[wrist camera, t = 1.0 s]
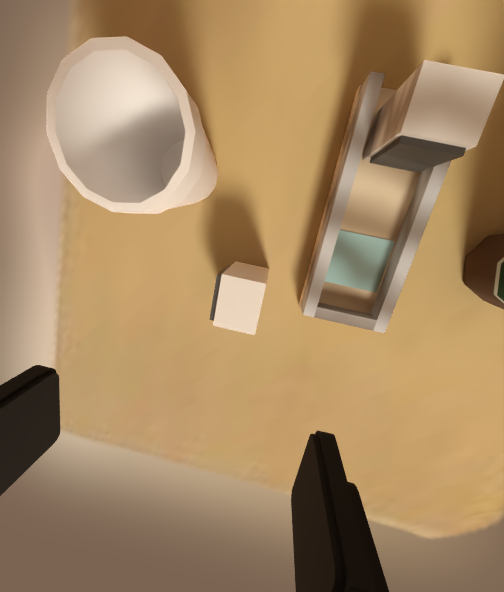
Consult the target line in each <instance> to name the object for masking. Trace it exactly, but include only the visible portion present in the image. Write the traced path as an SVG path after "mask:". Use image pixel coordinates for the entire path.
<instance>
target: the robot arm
mask: <svg viewBox="0 0 504 592" xmlns="http://www.w3.org/2000/svg"><path fill="white" fill-rule="evenodd" d="M59 434H60V400H59V375H58V374H56V370H55V369H53V368H48V367H45V366H40V365H35V366H33V367H31V368H30V369H28V370H26V371H24V372H23V373H21V374H19V375H18V376H16V377H14V378H12V379H11V380H9V381H7V382H5V383H4V384H2V385H0V496H1V495H2V493H4V492H5V491H6V490H7V489H8V488H9V487H10V486H11V485H12V484H13V483H14V482H15V481H16V480H17V479H18V478H19V477H20V476H21V475H22V474H23V473H24V472H25V471H26V470H27V469H28V468H29V467H30V466H31V465H32V464H33V463H34V462H35V461H36V460H37V459H38V458H39V457H40V456H42V455H43V454H44V453H45V452H46V451H47V450H48V449H49V448H50V447H51V446H52V445H53V444H54V443H55V441H56V440H57V439H58V437H59ZM291 505H292V524H293V544H294V561H295V562H294V564H295V583H296V592H389V590H388V587H387V583H386V580H385V577H384V574H383V570H382V567H381V564H380V560H379V557H378V554H377V551H376V547H375V544H374V541H373V538H372V534H371V531H370V528H369V524H368V521H367V518H366V515H365V511H364V508H363V505H362V501H361V498H360V495H359V492H358V489H357V487H356V486H355V484H353V483H350V482H347V479H346V475H345V471H344V468H343V464H342V460H341V457H340V453H339V449H338V446H337V442H336V438H335V436H334V435H333V434H330V433H326V432H321V431H317V432H316V433H315V434H311V435H310V437H309V440H308V443H307V446H306V449H305V452H304V455H303V458H302V461H301V464H300V467H299V470H298V473H297V476H296V479H295V482H294V486H293V489H292V495H291Z"/></svg>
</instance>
